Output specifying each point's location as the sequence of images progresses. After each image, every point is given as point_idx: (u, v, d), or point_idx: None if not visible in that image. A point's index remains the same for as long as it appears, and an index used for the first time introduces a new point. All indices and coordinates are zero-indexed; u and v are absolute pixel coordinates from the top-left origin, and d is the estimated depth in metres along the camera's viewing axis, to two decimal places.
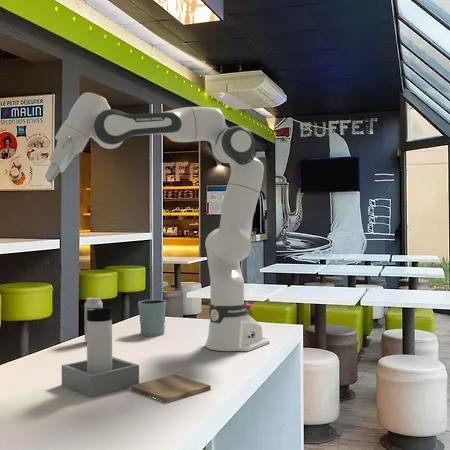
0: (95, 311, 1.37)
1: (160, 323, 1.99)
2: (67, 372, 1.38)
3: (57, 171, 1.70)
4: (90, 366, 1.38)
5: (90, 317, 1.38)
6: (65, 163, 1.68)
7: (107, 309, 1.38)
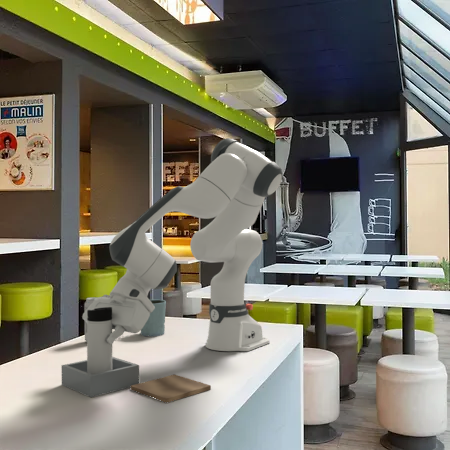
0: (95, 311, 1.37)
1: (160, 323, 1.99)
2: (67, 372, 1.38)
3: None
4: (90, 366, 1.38)
5: (90, 316, 1.38)
6: (114, 314, 1.42)
7: (107, 309, 1.38)
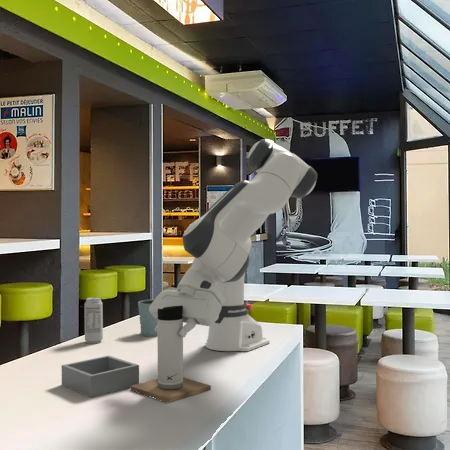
0: (167, 310, 1.33)
1: None
2: (67, 372, 1.38)
3: None
4: (162, 367, 1.33)
5: (161, 315, 1.33)
6: (184, 307, 1.37)
7: (179, 307, 1.34)
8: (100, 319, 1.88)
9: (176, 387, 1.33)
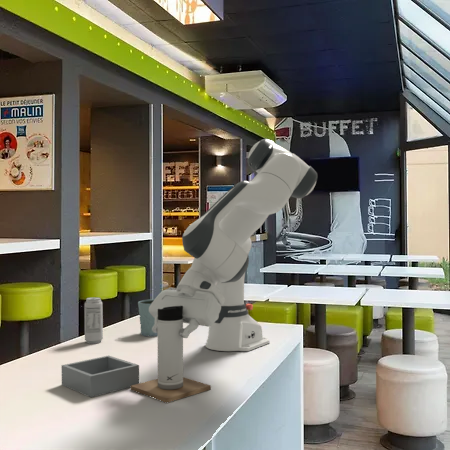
0: (167, 310, 1.33)
1: None
2: (67, 372, 1.38)
3: None
4: (162, 367, 1.33)
5: (161, 316, 1.33)
6: (184, 307, 1.37)
7: (179, 308, 1.33)
8: (100, 319, 1.88)
9: (176, 387, 1.33)
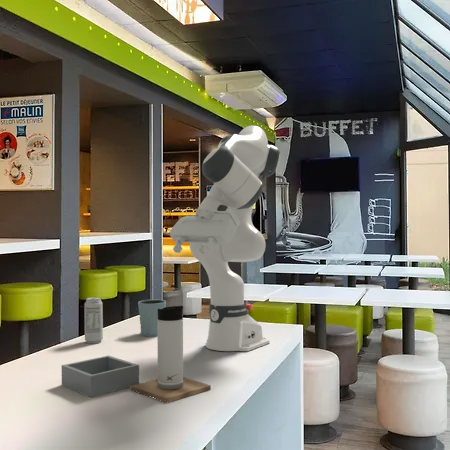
0: (167, 310, 1.33)
1: None
2: (67, 372, 1.38)
3: None
4: (162, 367, 1.33)
5: (161, 316, 1.33)
6: (203, 228, 1.50)
7: (179, 308, 1.33)
8: (100, 319, 1.88)
9: (176, 387, 1.33)
